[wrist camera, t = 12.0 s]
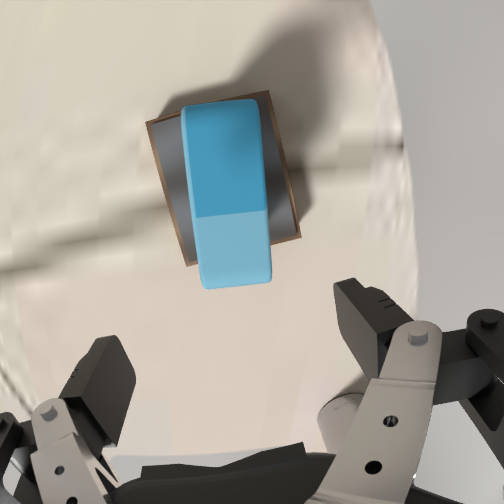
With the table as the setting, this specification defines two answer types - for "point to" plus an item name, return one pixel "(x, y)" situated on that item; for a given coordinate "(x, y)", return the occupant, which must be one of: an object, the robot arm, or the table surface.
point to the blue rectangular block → (227, 192)
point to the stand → (176, 188)
